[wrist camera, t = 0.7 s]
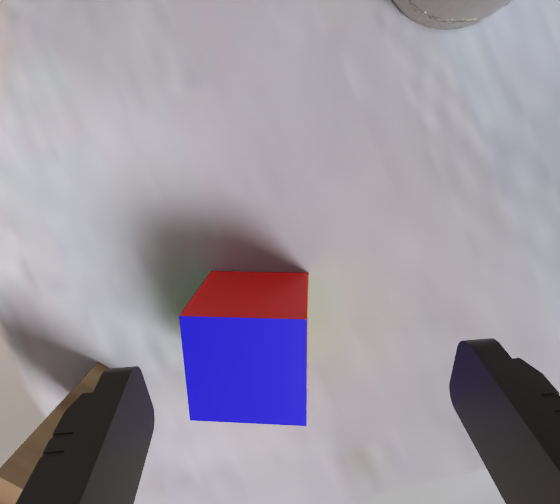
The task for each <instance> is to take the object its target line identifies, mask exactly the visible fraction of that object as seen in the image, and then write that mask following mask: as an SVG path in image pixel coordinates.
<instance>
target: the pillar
mask: <svg viewBox="0 0 560 504" xmlns="http://www.w3.org/2000/svg"><path fill="white" fill-rule="evenodd" d="M106 369H109V368H108V367H106V366H104V365H103V364H101V363H99V362H98V363H97V364H96V365H95V366H94V367H93V368H92V369H91V370H90V371H89V372H88V374H87V375H86V376H85V377H84V378H83V379H82V380H81V381H80V382H79V383H78V384H77V385H76V387H75V388H74V389H73V390H72V391H71V392H70V393H69V394H68V395H67V396H66V397H65V398H64V400H63V401H62V402H61V403H60V404H59V405H58V406H57V407H56V408H55V409H54V410H53V411H52V413H51V414H50V415H49V416H48V417H47V418H46V419H45V420H44V421H43V423H41V424H40V426H39V427H38V428H37V429H36V430H35V431H34V432H33V433H32V434H31V435H30V436H29V437H28V439H27V440H26V441H25V442H24V443H23V444H22V445H21V446H20V447H19V448H18V449H17V451H16V452H15V453H14V454H13V455H12V456H11V457H10V458H9V459H8V460H7V461H6V463H5V464H4V465H3V466H2V467H1V468H0V504H16V502H17V500H18V498H19V496H20V494H21V492H22V490H23V489H24V487H25V485H26V483H27V481H28V479H29V477H30V475H31V474H32V472H33V470H34V468H35V466H36V464H37V462H38V460H39V459H40V457H42V456H43V451H44V449H45V447H46V445H47V444H48V442H49V440H50V438H52V437H53V432H54V430H55V428H56V427H57V425H58V423H59V421H60V419H61V417H62V415H63V413H64V412H65V411H66V410H67V409H68V408H69V407H70V406H71V405H72V404H73V403H74V402H75V401H76V399H77V398H78V397H79V396H80V395H81V394H82V393H91V392H93V391H94V389H95V387H96V385H97V383H98V381H99V379H100V376H101V375H102V373H103V372H104V371H105V370H106Z"/></svg>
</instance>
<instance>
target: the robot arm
mask: <svg viewBox="0 0 560 504" xmlns="http://www.w3.org/2000/svg"><path fill="white" fill-rule="evenodd" d="M511 1H513V0H393V2H394V3H395V4H396V5H397V6H398V8H399V9H400V10H401V11H402V12H403V13H404V14H405V15H406V16H408V17H409V18H411V19H412V20H413V21H415V22H416V23H419V24H421V25H424V26H426V27H429V28H435V29H443V30H447V29H457V28H462V27H465V26H468V25H471V24H474V23H477V22H479V21H480V20H482V19H484V18H486V17H487V16H489V15H491V14H493V13H494V12H496V11H497V10H499V9H500V8H502V7H503V6H505V5H506V4H508V3H510V2H511ZM449 388H450V396H451V400H452V404H453V406H454V408H455V410H456V412H457V414H458V416H459V418H460V420H461V422H462V423H463V425H464V427H465V429H466V431H467V433H468V435H469V436H470V438H471V440H472V442H473V444H474V446H475V447H476V449H477V451H478V453H479V455H480V457H481V459H482V460H483V462H484V464H485V466H486V468H487V470H488V471H489V473H490V475H491V477H492V479H493V481H494V482H495V484H496V486H497V488H498V490H499V492H500V494H501V495H502V497H503V499H504V501H505V503H506V504H560V396H559V392H558V391H557V390H556V389H555V388H554V387H553V385H552V384H551V383H550V382H549V381H548V380H547V379H546V377H545V376H544V375H543V374H542V373H541V372H539V371H538V370H536V369H535V368H533V367H532V366H530V365H529V364H528V363H526V362H525V361H523V360H522V359H520V358H516V359H512V358H511V357H510V356H509V354H508V353H507V352H506V351H505V350H504V348H503V347H502V346H501V345H500V343H499V342H498V341H496V340H495V339H492V338H491V339H478V340H466V341H461V342H460V343H459V344H458V347H457V352H456V356H455V361H454V365H453V370H452V375H451V379H450V386H449ZM153 429H154V409H153V405H152V402H151V399H150V396H149V393H148V390H147V387H146V384H145V381H144V378H143V375H142V372H141V370H140V368H139V367H124V368H112V369H106V370H105V371H104V372H103V373H102V375H101V376H100V379H99V381H98V383H97V385H96V387H95V389H94V391H93V392H91V393H82V394H81V395H80V396H79V397H78V398H77V399H76V401H75V402H74V403H73V404H72V405H71V406H70V407H69V408H68V409H67V410H66V411H65V412H64V413H63V415H62V417H61V419H60V421H59V423H58V425H57V427H56V428H55V430H54V432H53V437H52V438H50V440H49V442H48V444H47V445H46V447H45V449H44V451H43V456H42V457H40V459H39V460H38V462H37V464H36V466H35V468H34V470H33V472H32V474H31V475H30V477H29V479H28V481H27V483H26V485H25V487H24V489H23V490H22V492H21V494H20V496H19V498H18V500H17V502H16V504H133V503H134V500H135V496H136V492H137V489H138V485H139V481H140V478H141V474H142V470H143V467H144V463H145V460H146V456H147V452H148V449H149V445H150V441H151V438H152V434H153Z"/></svg>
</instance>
